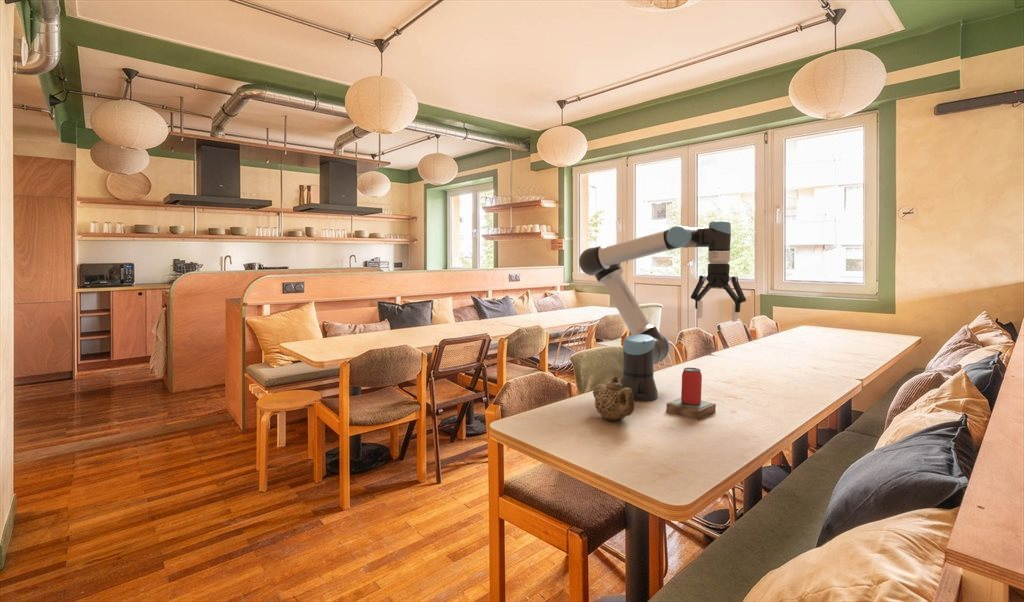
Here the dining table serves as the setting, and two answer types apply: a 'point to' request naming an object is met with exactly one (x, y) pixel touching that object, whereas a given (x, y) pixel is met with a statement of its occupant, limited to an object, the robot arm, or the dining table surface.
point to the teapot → (613, 400)
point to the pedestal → (691, 409)
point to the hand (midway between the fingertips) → (716, 319)
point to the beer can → (691, 386)
